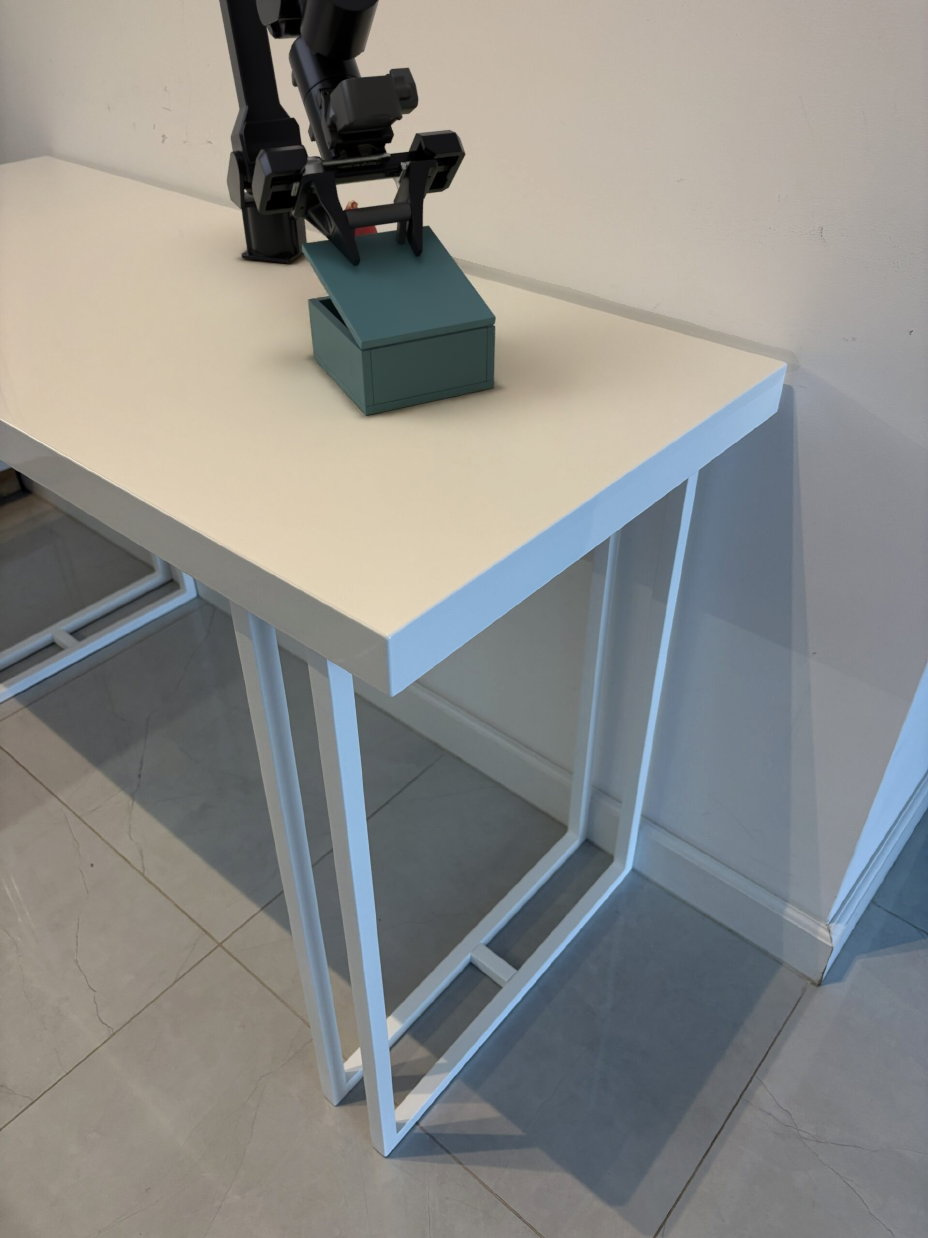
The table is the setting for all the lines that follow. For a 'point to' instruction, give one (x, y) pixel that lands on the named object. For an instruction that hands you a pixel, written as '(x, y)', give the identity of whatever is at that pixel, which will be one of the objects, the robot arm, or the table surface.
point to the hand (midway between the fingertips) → (388, 258)
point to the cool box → (401, 363)
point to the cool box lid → (396, 282)
